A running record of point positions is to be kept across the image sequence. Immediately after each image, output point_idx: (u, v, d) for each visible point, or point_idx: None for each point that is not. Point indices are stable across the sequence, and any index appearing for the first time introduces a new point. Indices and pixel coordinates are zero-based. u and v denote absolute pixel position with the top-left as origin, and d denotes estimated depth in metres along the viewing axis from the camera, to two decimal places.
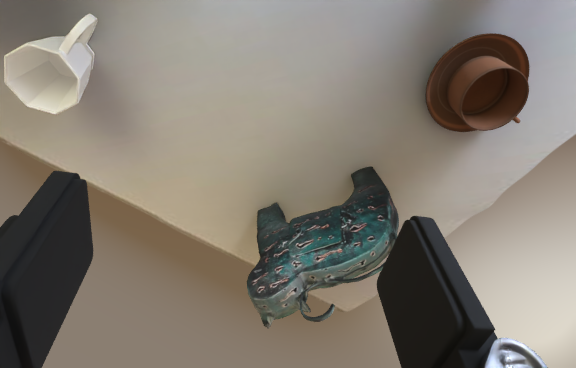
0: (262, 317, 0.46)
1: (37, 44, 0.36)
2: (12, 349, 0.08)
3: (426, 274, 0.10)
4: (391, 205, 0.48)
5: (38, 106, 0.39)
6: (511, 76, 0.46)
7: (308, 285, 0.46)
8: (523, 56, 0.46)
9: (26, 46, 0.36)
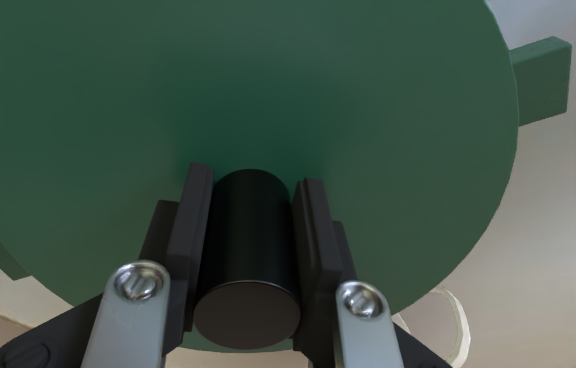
0: None
1: None
2: (184, 309, 0.10)
3: (301, 227, 0.11)
4: None
5: None
6: None
7: None
8: None
9: None
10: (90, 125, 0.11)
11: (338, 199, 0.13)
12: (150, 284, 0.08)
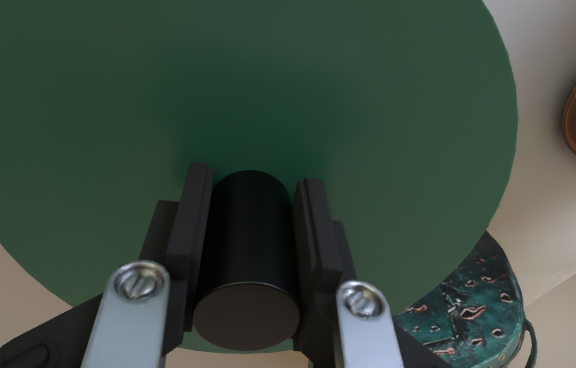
0: None
1: None
2: (185, 309, 0.10)
3: (302, 227, 0.11)
4: (514, 274, 0.33)
5: None
6: None
7: None
8: None
9: None
10: (90, 127, 0.11)
11: (337, 200, 0.13)
12: (150, 284, 0.08)
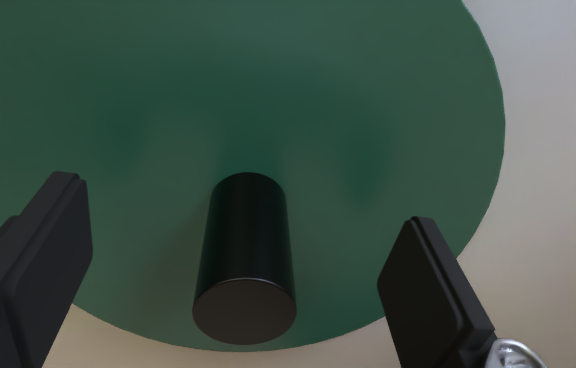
0: None
1: None
2: (12, 349, 0.08)
3: (426, 274, 0.10)
4: None
5: None
6: None
7: None
8: None
9: None
10: (94, 131, 0.12)
11: (333, 201, 0.14)
12: None
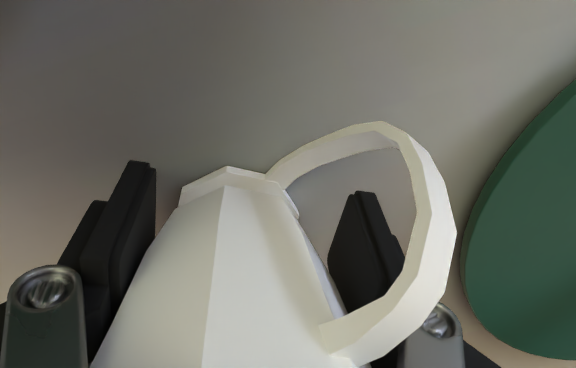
0: None
1: None
2: (109, 316, 0.09)
3: (361, 242, 0.11)
4: None
5: None
6: None
7: None
8: None
9: None
10: None
11: None
12: (58, 291, 0.08)
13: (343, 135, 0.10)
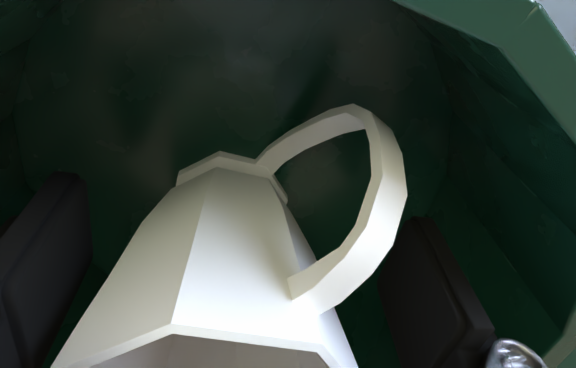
0: None
1: (211, 306, 0.07)
2: (12, 350, 0.08)
3: (426, 274, 0.10)
4: None
5: None
6: None
7: None
8: None
9: None
10: None
11: None
12: None
13: (321, 119, 0.11)
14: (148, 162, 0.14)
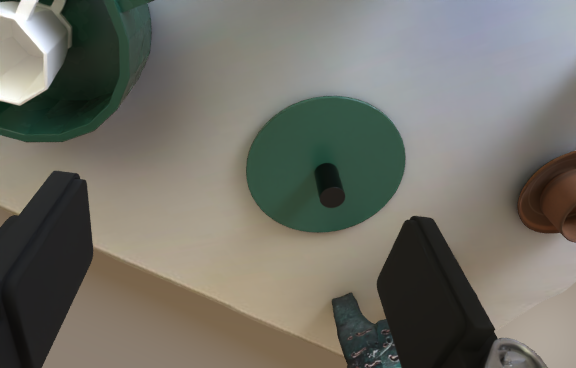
0: None
1: None
2: (12, 350, 0.08)
3: (426, 274, 0.10)
4: None
5: None
6: None
7: None
8: None
9: None
10: (286, 151, 0.42)
11: (352, 172, 0.44)
12: None
13: None
14: None
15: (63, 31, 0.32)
